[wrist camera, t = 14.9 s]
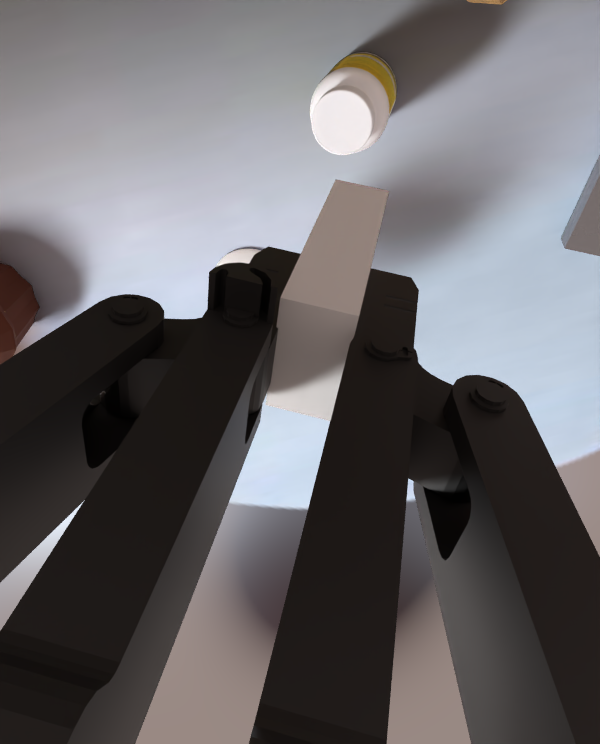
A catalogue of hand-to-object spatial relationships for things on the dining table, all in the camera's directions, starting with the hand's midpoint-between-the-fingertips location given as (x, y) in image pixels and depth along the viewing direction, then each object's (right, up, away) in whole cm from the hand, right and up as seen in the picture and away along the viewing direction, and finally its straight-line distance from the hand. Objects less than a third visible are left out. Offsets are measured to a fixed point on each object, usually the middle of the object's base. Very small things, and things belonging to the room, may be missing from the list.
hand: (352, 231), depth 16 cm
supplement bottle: (+3, +18, +28) cm, 33 cm away
